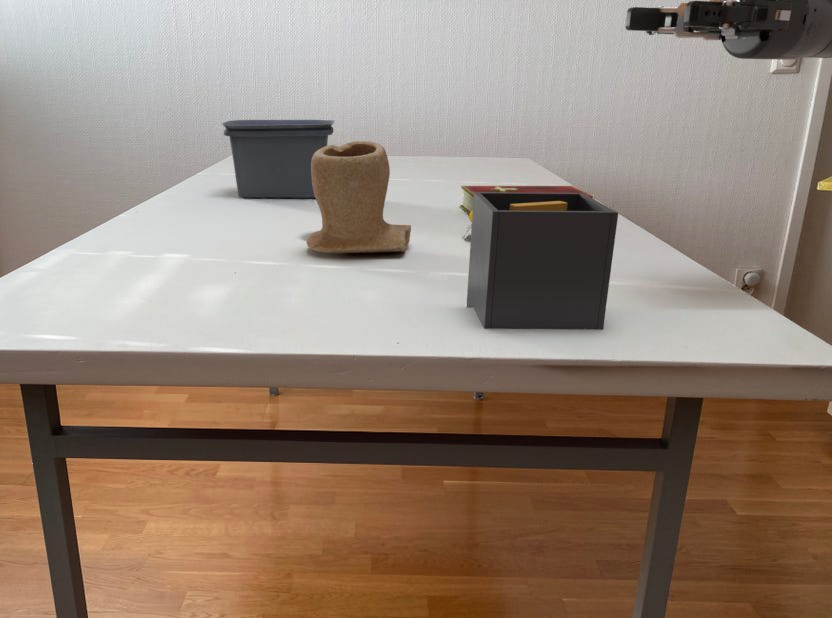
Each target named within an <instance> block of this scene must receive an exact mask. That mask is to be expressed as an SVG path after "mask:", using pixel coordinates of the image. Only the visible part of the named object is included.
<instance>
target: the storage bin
mask: <svg viewBox="0 0 832 618" xmlns="http://www.w3.org/2000/svg"><path fill="white" fill-rule="evenodd" d="M334 124H335V120H334V119H234V120H227V121H224V122H222V123H221V125H222V126H223V127H224V128H225V129H224V130H223V136H225V137H229V142H230V149H231V156H232V162H233V168H234V169H233V170H234V176H235V182H236V183H235V184H236V189H237V195H238V197H239V198H243V199H247V198H248V199H260V198H261V199H262V198H263V199H268V198H271V199H273V198H277V199H279V198H282V199H284V198H286V199H287V198H293V199H295V198H299V199H300V198H307V199H310V198H315V195H314V191H313V186H312V175H311V160H312V157H313V155H314V153H315V152H316V151H318V150H319V149H321V148H323V147H325V146H328V141H329V136H332V135H333V133H334V132H335V130H334V127H333V125H334ZM315 199H316V198H315Z"/></svg>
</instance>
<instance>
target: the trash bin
mask: <svg viewBox="0 0 832 618" xmlns="http://www.w3.org/2000/svg"><path fill="white" fill-rule="evenodd" d="M551 201H562V202H566V203H567V211H520V210H510V204H519V203H535V202H551ZM618 219H619V212H618V211H616V210H614V209H613V208H611V207H609V206H608V205H605V204H604V203H602V202H600V201H598V200H597V199H595V200H594V199H593V198H591V197H589V196H587V195H585V194H583V193H519V192H474V199H473V214H472V229H471V232H470V245H469V247H470V248H469V259H468V260H469V262H468V278H467V293H466V296H467V297H466V306H465V307H466V308H467V309H471V308H472V309H473V310H474V312H475V313H476V316H477V317H478V320H479V321H480V323H481V325H482V327H483V329H485V330H488V329H489V330H490V329H491V330H494V329H495V330H597V331H598V330H600V331H601V330H602V331H603V330H604V325H605V318H606V312H607V311H606V309H607V303H608V294H609V288H610V280H611V272H612V264H613V263H612V262H613V256H614V249H615V244H616V243H615V242H616V234H617V227H618Z"/></svg>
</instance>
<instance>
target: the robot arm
mask: <svg viewBox="0 0 832 618" xmlns="http://www.w3.org/2000/svg"><path fill="white" fill-rule="evenodd" d="M624 27H625V30H627V31H635V32H645V34H647V35H648V36H654V35H674V37H675V38H678V39H686V38H687V39H702V40H704V41H721V43H722V45H723V48H724V50H725V51H726V52H727V53H728V54H729V55H730V56H732V57H734V58H736V59H741V60H778V61H779V60H784V61H785V60H786V61H787V60H788V61H789V60H798V59H804V58H805V59H832V0H707V1H706V0H690V1H683V2H681V3H680V4H679V5H678V6H677V7H676V6H675V7H672V6H671V7H665V6H664V5H659V6H658V7H644V6H643V7H642V6H633V7H629V8H628V9H627V11H626V17H625V26H624Z"/></svg>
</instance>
